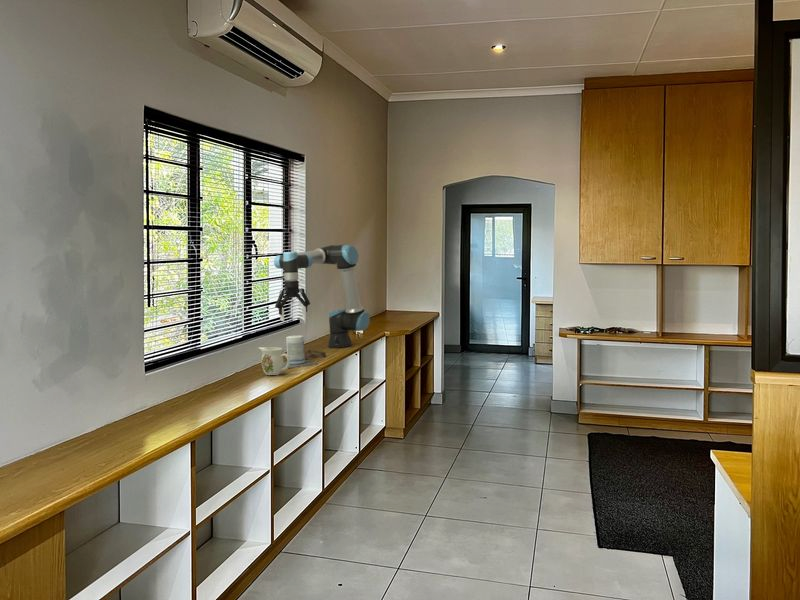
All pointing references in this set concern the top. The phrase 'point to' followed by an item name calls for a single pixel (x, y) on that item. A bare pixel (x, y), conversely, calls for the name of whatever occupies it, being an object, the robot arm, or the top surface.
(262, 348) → the pitcher
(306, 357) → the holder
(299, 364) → the pad
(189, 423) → the top surface
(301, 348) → the supplement tub
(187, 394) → the top surface
